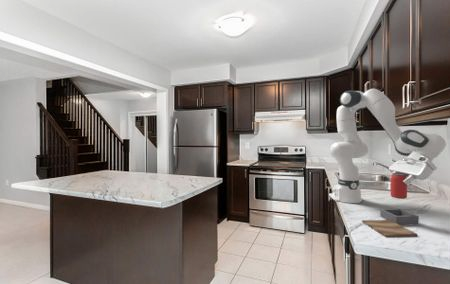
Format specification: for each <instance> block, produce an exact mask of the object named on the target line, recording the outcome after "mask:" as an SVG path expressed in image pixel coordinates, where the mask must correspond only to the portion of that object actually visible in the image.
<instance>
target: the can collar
mask: <svg viewBox="0 0 450 284" xmlns="http://www.w3.org/2000/svg"><path fill="white" fill-rule="evenodd" d="M379 210H380V211H379V212H380V214H379V215H380V217H381V218H382V219H383V220H391V221H393V222H395V223H397V224H399V225H401V226H403V225H405V224H413V225H419V224H420V222H419V218H420V217H419V215H416V214H414V213H412V212H409V211H407V210H404V209H402V208H380V209H379ZM405 226H406V225H405Z"/></svg>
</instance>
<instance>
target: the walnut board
mask: <svg viewBox="0 0 450 284" xmlns="http://www.w3.org/2000/svg"><path fill="white" fill-rule="evenodd" d="M361 222H363V224H364V225H365V224H366V226H367V225H368V226H367V227H369V228H370V227H371V228H370V229H372V230H373V229H374V231H375V232H377V233H378V234H380V235H381V236H383V237H385V238H391V237H392V238H395V237H396V238H397V237H398V238H400V237H402V238H403V237H418V233H416V232H415V231H412V230H411V229H408V228H406V227H405V226H403V225H399V224H397V223H395V222H393V221H391V220H386V219H377V220H376V219H374V220H373V219H372V220H371V219H369V220H366V219H365V220H361Z"/></svg>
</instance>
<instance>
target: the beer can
mask: <svg viewBox="0 0 450 284" xmlns="http://www.w3.org/2000/svg"><path fill="white" fill-rule="evenodd" d="M390 177H391V179H390V196H391V197H392V198H394V199H397V200H398V199H399V200H402V199H403V200H405V199H407V198H408V183H407V184H405V183H403V182H402V180H403V179H406V178H408V177H406V174H402V173H392V172H391V176H390Z"/></svg>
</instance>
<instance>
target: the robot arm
mask: <svg viewBox="0 0 450 284" xmlns="http://www.w3.org/2000/svg"><path fill="white" fill-rule="evenodd" d="M339 102H340V106H338V107H337V109H336V128H337V133H338V135H339V136H340V137H342V138H343V141H338V142H334V143H332V145H331V146H330V148H329V151H330V155H331V156H332V157H333V158H334V159H335V160H336V162H337V166H338V170H339V171H338V173H339V178H338V179H337V184H336V185H334V186H333V187H332V189H331V193H328V196H330V198H331V199H332V200H333V201H336V202H341V203H346V204H359V203H360V204H361V202H362V201H364V199H363V198H362V193H361V192H362V189H361V187H360V180H359V168H358V166H357V165H356V164H354V162H353V159H359V158H363V157H365V156H367V154H368V153H369V149H368V148H369V146H368V145H367V144H366V143H364V142H363V141H362V139H361V137H360V136H359V134H358V130H357V123H356V117H355V115H356V112H360V111H362V110H364V109H366V108H367V109H368V111H370V113H371V114H372V116H374V117H375V118H376V120H377V121H378V122H379V124H380V125H381V126H382V128H383V130H384V131H385V132H386V133H387V135H388V136H389V138H390V139H391V141H392V143H393V147H394V150H395V152H396V153H398V154H399V155H401V156H404V157H405V158H403V159H400V160H399V159H398V160H396V161H394V163H393V164H391V165H390V166H389V167H388V171H390V172H391V174H392V173H402V174H406V177H407V178H406V179H403V180H402V182H403V183H405V184H407V185H408V184H409V182H412V181H414V180H415V179H416V180H419V181H425V180H427V179H428V178H429V177H430V176H431V175H432V174H433V173H434V171H436V170H437V168H438V167H437V166H436V165H435V163H434V162H433V160H434V159H436V158H438V156H439V155H440V154H441V153H442V152H443V151H444V149H445V148H446V146H447V141H446V140H445V139H444V137H442V136H441V135H439V134H437V133H436V134H435V133H430V134H429V133H424V132H421V131H419V130H417V129H405V130H404V131H402V130H401V128H400V127H399V125H398V124H397V121H396V107H395V105H394V103H393V102H392V100H391V99H390V98H389V97H388V96H386V94H385V93H383V92H382V91H381V90H379V89H377V88H370V89H367V90H366V91H364V92H363V91H360V90H347V91H344V92H343V93H342V94H341V95H340V98H339ZM389 179H390V180H391V176H389Z"/></svg>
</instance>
